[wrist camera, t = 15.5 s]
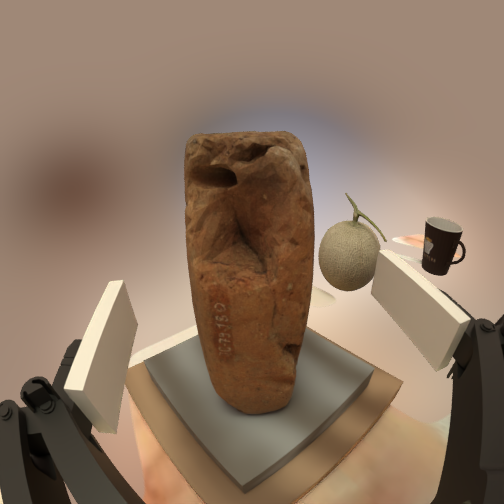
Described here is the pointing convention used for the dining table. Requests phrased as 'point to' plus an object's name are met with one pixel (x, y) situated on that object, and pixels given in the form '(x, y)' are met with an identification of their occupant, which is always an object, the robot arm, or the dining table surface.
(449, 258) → the coffee mug
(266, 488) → the tower base
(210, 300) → the block
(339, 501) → the dining table surface
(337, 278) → the fruit
